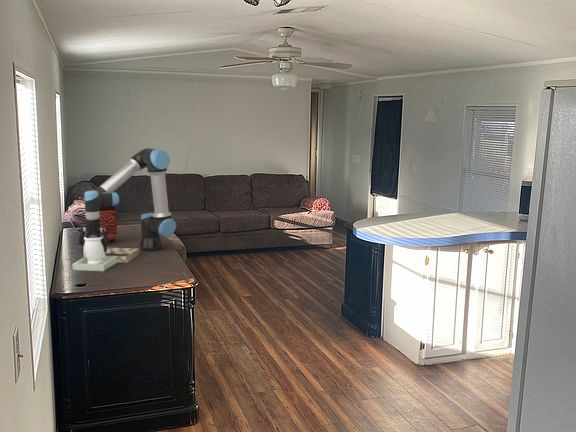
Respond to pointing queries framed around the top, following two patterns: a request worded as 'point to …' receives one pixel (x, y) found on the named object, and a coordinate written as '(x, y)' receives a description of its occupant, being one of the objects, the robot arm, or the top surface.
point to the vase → (108, 222)
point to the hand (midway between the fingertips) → (94, 256)
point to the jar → (93, 249)
